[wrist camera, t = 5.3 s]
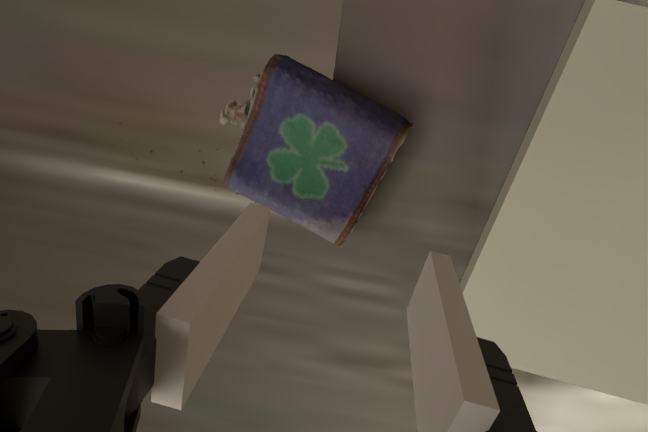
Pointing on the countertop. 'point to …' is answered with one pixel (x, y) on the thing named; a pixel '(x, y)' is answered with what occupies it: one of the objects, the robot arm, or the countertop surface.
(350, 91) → the flask
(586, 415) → the countertop surface
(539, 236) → the beige flat panel
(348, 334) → the countertop surface
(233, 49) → the countertop surface
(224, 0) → the countertop surface
